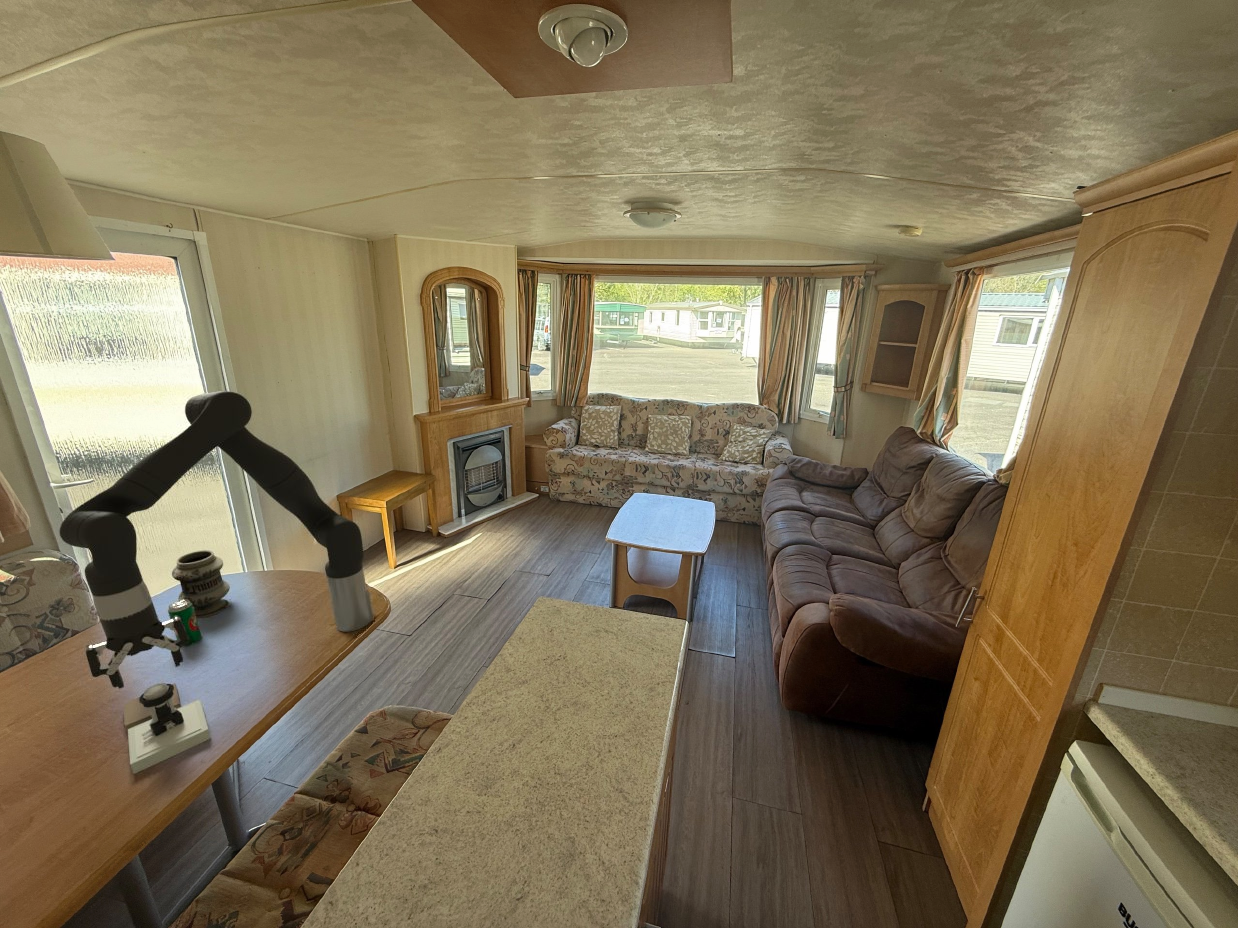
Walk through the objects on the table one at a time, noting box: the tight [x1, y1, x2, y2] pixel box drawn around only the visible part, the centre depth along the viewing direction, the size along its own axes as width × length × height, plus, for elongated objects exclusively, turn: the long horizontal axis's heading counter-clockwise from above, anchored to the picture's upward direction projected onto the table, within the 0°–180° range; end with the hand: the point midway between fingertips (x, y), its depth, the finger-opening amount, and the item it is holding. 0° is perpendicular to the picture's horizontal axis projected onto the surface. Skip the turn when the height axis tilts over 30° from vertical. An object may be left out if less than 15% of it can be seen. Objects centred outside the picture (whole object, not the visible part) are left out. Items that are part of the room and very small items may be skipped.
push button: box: [138, 682, 184, 740], centre depth 103 cm, size 7×5×10 cm
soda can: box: [167, 599, 203, 647], centre depth 134 cm, size 5×5×12 cm
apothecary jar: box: [171, 549, 230, 619], centre depth 148 cm, size 12×12×18 cm
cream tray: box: [127, 698, 212, 775], centre depth 105 cm, size 12×12×3 cm
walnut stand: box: [123, 683, 182, 734], centre depth 112 cm, size 9×9×2 cm
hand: (150, 674), depth 100 cm, fingers open, 8 cm apart
